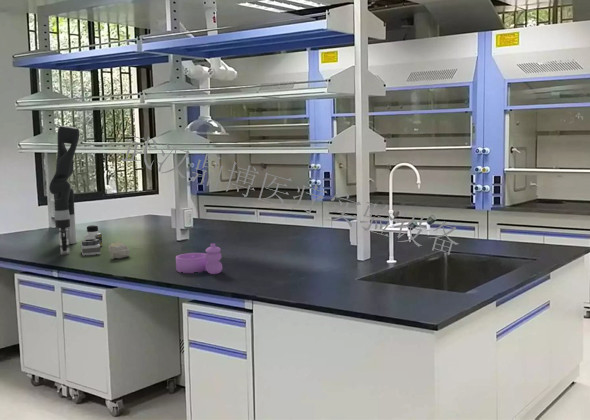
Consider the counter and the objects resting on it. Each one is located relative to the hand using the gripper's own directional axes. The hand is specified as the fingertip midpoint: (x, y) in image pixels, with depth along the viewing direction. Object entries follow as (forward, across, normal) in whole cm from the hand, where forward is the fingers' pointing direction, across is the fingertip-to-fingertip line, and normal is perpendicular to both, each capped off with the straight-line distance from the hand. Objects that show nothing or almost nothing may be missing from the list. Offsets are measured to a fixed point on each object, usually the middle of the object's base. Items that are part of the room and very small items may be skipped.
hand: (64, 249), depth 346 cm
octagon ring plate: (+2, -4, -13) cm, 14 cm away
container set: (+3, -77, -56) cm, 96 cm away
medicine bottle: (+3, +18, -16) cm, 24 cm away
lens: (+2, 0, 0) cm, 2 cm away
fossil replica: (+3, -26, -26) cm, 37 cm away
